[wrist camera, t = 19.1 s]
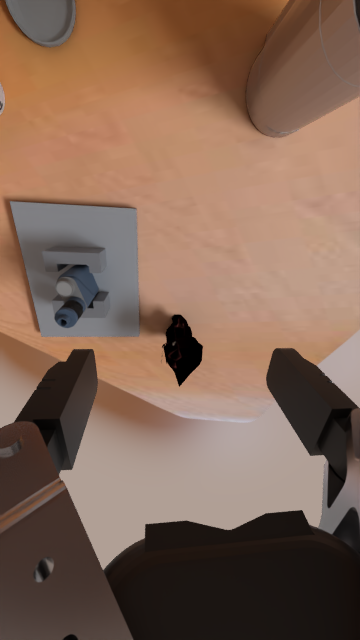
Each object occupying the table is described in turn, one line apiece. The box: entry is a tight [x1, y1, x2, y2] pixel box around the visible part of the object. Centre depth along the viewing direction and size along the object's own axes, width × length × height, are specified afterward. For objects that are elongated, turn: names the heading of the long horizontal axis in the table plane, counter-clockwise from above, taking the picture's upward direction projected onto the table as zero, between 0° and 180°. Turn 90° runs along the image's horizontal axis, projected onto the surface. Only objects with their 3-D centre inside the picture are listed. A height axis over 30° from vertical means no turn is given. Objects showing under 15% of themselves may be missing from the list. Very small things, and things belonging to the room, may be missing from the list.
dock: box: [10, 201, 140, 337], centre depth 34 cm, size 20×16×5 cm
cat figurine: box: [161, 315, 203, 387], centre depth 36 cm, size 7×7×12 cm
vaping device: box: [54, 264, 99, 328], centre depth 30 cm, size 3×5×12 cm, turn 14°
